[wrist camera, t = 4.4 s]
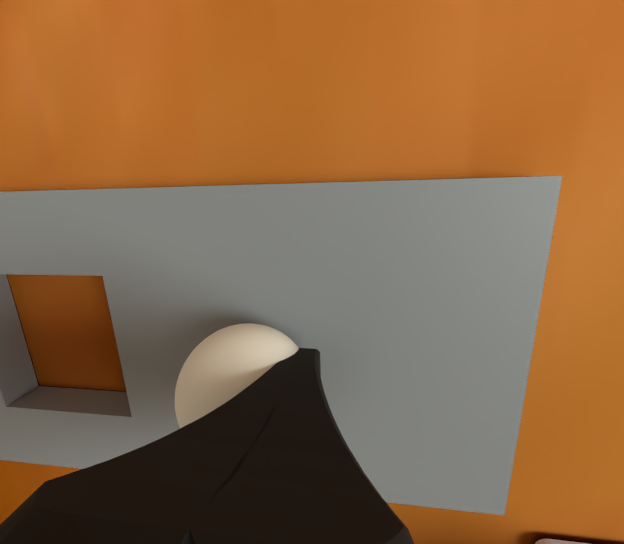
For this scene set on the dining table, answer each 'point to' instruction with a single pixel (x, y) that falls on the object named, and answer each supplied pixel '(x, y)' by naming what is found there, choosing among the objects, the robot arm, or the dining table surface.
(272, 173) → the dining table surface
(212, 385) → the ball
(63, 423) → the board
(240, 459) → the robot arm
